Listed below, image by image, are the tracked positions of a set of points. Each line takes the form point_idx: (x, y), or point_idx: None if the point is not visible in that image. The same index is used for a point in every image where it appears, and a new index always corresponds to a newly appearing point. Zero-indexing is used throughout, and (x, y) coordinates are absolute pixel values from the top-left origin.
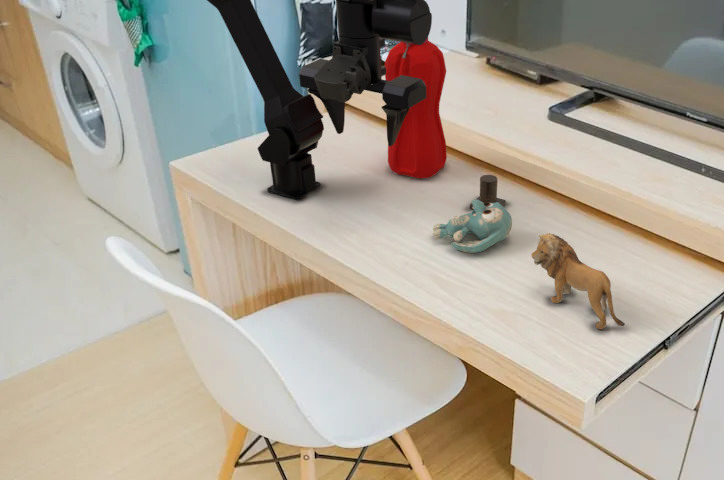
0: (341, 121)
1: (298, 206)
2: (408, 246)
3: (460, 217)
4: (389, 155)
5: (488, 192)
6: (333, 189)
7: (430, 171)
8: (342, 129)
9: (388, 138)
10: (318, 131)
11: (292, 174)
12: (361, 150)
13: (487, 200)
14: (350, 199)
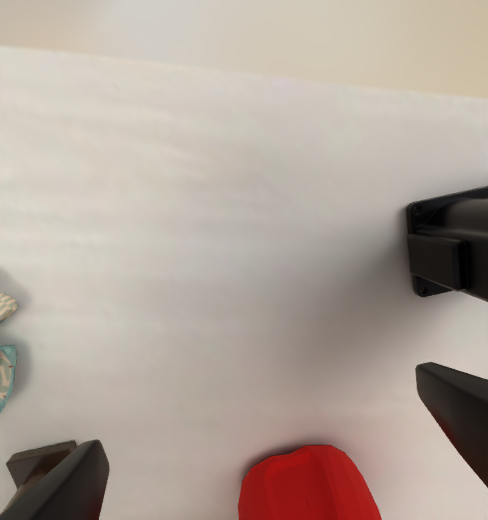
0: (468, 437)
1: (385, 186)
2: (33, 222)
3: (9, 385)
4: (349, 477)
5: (8, 504)
6: (379, 302)
7: (240, 493)
8: (428, 401)
9: (60, 475)
10: None
11: (474, 219)
12: (459, 469)
13: (24, 481)
14: (312, 294)
